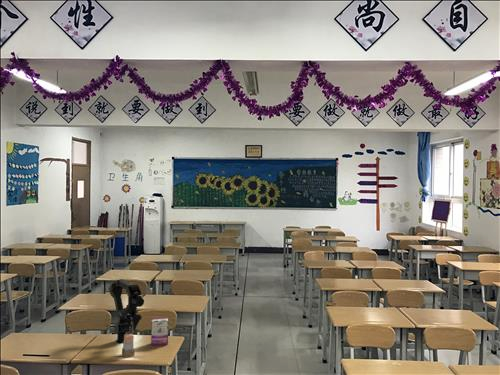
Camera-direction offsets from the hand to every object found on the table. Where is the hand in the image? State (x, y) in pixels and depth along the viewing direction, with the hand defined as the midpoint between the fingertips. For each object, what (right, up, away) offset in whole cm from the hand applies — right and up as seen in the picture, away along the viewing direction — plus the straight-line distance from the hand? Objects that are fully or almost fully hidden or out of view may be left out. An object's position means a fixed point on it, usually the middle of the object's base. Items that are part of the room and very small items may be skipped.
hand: (131, 327), depth 288 cm
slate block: (+1, -9, -14) cm, 17 cm away
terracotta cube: (+2, -5, -14) cm, 15 cm away
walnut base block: (+1, -13, -14) cm, 19 cm away
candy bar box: (+17, -14, +7) cm, 23 cm away
